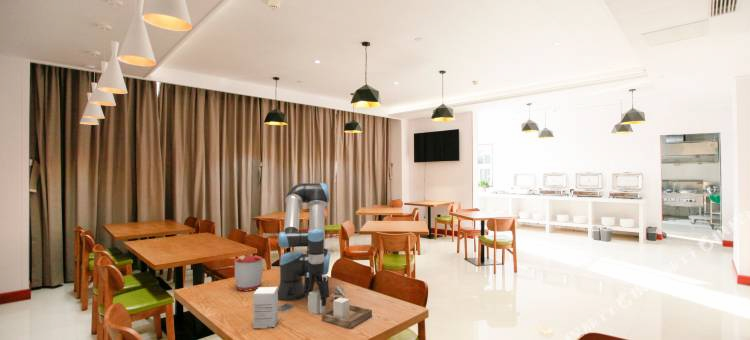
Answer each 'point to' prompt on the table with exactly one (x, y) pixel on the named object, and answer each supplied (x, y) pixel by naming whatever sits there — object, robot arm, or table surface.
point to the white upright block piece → (314, 301)
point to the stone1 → (341, 308)
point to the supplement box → (265, 307)
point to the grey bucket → (248, 272)
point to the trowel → (285, 307)
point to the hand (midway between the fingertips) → (316, 310)
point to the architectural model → (338, 292)
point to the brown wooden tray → (355, 315)
